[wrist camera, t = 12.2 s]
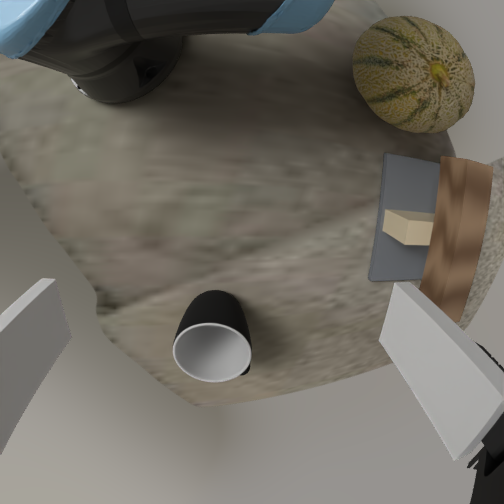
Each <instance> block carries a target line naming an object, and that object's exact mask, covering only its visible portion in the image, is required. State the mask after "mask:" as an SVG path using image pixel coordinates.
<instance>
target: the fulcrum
mask: <svg viewBox="0 0 504 504" xmlns="http://www.w3.org/2000/svg"><path fill="white" fill-rule="evenodd" d="M439 173H440V164H439V163H435V162H430V161H426V160H421V159H416V158H411V157H406V156H400V155H395V154H389V153H384V160H383V173H382V184H381V194H380V203H379V211H378V219H377V226H376V233H375V240H374V246H373V252H372V258H371V264H370V269H369V275H368V279H369V280H370V281H388V280H413V279H422V277H423V272H424V268H425V264H426V259H427V254H428V250H429V244H430V239H431V234H432V228H433V222H434V215H435V208H436V201H437V193H438V184H439Z"/></svg>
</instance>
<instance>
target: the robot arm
mask: <svg viewBox="0 0 504 504" xmlns="http://www.w3.org/2000/svg"><path fill="white" fill-rule="evenodd" d="M334 1H335V0H0V53H1V54H3V55H6V57H8V58H11V59H14V58H15V59H17V58H18V59H21V60H25V61H28V62H31V63H35V64H38V65H41V66H44V67H47V68H50V69H53V70H56V71H59V72H62V73H65V74H67V75H68V76H69V77H70V78H71V80H72V82H73V84H74V85H75V87H76V88H77V89H78V90H79V91H80V92H81V93H82V94H84V95H85V96H87V97H89V98H91V99H94V100H97V101H101V102H105V103H122V102H127V101H131V100H134V99H136V98H139V97H141V96H143V95H145V94H146V93H148V92H150V91H151V90H153V89H154V88H155V87H157V86H158V85H159V84H160V83H161V82H162V81H163V80H164V79H165V78H166V77H167V76H168V74H169V73H170V72H171V70H172V69H173V67H174V66H175V64H176V62H177V60H178V58H179V55H180V52H181V48H182V36H188V35H202V34H230V33H243V34H247V35H258V34H260V33H286V34H294V33H300V32H303V31H306V30H307V29H309V28H311V27H312V26H313V25H315V24H317V23H318V22H319V21H320V20H321V19H322V18H323V17H324V16H325V14H326V13H327V12H328V10H329V9H330V7H331V6H332V4H333V2H334ZM71 338H72V336H71V333H70V329H69V326H68V323H67V320H66V316H65V313H64V309H63V306H62V302H61V298H60V294H59V290H58V286H57V282H56V279H46V278H42V279H41V280H40V281H38V282H37V283H36V284H35V285H33V286H32V287H31V288H30V289H29V290H28V291H27V292H25V293H24V294H23V295H22V296H21V297H20V298H19V299H17V300H16V301H15V302H14V303H13V304H12V305H11V306H10V307H9V308H8V309H6V310H5V311H4V312H3V313H2V314H1V315H0V454H2V452H3V450H4V448H5V446H6V444H7V442H8V440H9V438H10V436H11V434H12V432H13V431H14V429H15V427H16V425H17V423H18V422H19V420H20V418H21V416H22V414H23V413H24V411H25V409H26V407H27V406H28V404H29V402H30V401H31V399H32V397H33V396H34V394H35V393H36V390H37V389H38V388H39V386H40V384H41V382H42V381H43V380H44V378H45V377H46V375H47V373H48V372H49V370H50V369H51V367H52V366H53V364H54V363H55V361H56V360H57V358H58V357H59V355H60V354H61V352H62V351H63V349H64V348H65V347H66V345H67V344H68V342H69V341H70V339H71ZM379 342H380V343H381V344H382V346H383V347H384V349H385V350H386V352H387V353H388V355H389V356H390V358H391V359H392V361H393V362H394V364H395V365H396V367H397V368H398V370H399V372H400V373H401V375H402V376H403V378H404V379H405V381H406V382H407V384H408V385H409V387H410V389H411V390H412V391H413V393H414V395H415V396H416V398H417V400H418V401H419V403H420V405H421V406H422V408H423V409H424V411H425V413H426V414H427V416H428V417H429V419H430V421H431V423H432V424H433V426H434V428H435V429H436V431H437V433H438V434H439V436H440V438H441V439H442V441H443V443H444V445H445V446H446V448H447V450H448V452H449V453H450V455H451V457H452V459H453V461H456V460H458V459H460V458H462V457H464V456H465V455H468V454H469V453H471V452H472V451H473V450H474V449H475V448H476V446H477V445H478V444H479V443H480V442H481V441H482V442H483V444H484V447H483V448H482V449H481V450H480V451H479V452H478V454H477V455H476V456H475V457H474V458H473V459H472V460H471V461H470V462H469V464H468V466H467V468H470V467H471V466H472V465H473V464H474V463H475V462H476V461H477V460H478V459H479V460H478V463H477V464H476V465H475V467H474V468H473V469H476V470H477V473H476V478H475V484H474V488H473V494H472V498H471V502H470V504H504V368H503V367H502V366H501V365H498V362H497V361H496V360H495V359H494V358H493V357H491V355H490V354H489V353H488V352H487V351H486V349H485V348H484V347H483V346H481V345H479V344H478V343H476V342H474V341H473V340H472V339H471V338H470V337H469V336H468V335H467V334H466V333H465V332H464V331H463V330H462V329H461V328H460V327H459V326H458V325H457V324H456V323H455V322H454V321H452V320H451V319H450V318H449V317H448V316H447V315H446V314H445V313H444V312H443V311H442V310H441V309H440V308H439V307H437V306H436V305H435V304H434V303H433V302H432V301H431V300H430V299H429V298H428V297H426V296H425V295H424V294H423V293H422V292H421V291H420V290H419V289H417V288H416V287H415V286H414V285H413V284H412V283H411V282H394V286H393V290H392V295H391V299H390V302H389V306H388V310H387V314H386V317H385V321H384V324H383V328H382V331H381V335H380V338H379Z"/></svg>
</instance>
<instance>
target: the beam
mask: <svg viewBox="0 0 504 504" xmlns="http://www.w3.org/2000/svg"><path fill="white" fill-rule="evenodd" d="M492 177H493V167H491V166H488V165H485V164H482V163H478V162H475V161H471V160H468V159H461V158H455V157H448V156H441V160H440V173H439V184H438V193H437V201H436V208H435V215H434V222H433V228H432V234H431V239H430V244H429V250H428V254H427V259H426V264H425V268H424V272H423V277H422V281H421V285H420V289H419V290H420V291H421V292H422V293H423V294H424V295H425V296H426V297H428V298H429V299H430V300H431V301H432V302H433V303H434V304H435V305H436V306H437V307H439V308H440V309H441V310H442V311H443V312H444V313H445V314H446V315H447V316H448V317H449V318H450V319H451V320H452V321H454V322H459V321H460V319H461V316H462V313H463V310H464V307H465V304H466V301H467V298H468V295H469V292H470V289H471V285H472V282H473V278H474V275H475V271H476V267H477V264H478V260H479V256H480V251H481V247H482V242H483V238H484V233H485V227H486V222H487V216H488V210H489V203H490V195H491V187H492Z"/></svg>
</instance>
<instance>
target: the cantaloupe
mask: <svg viewBox="0 0 504 504" xmlns="http://www.w3.org/2000/svg"><path fill="white" fill-rule="evenodd" d="M353 76H354V80H355V83H356V87H357V88H358V90H359V92H360V94H361V95H362V97H363V98H364V99H365V100H366V103H367V104H368V106H369V107H370V108H371V109H372V110H373V111H374V113H375V114H376V115H378V116H379V117H380V118H381V119H382V120H384V121H386V122H388V123H389V124H391V125H393V126H395V127H397V128H398V129H401V130H405V131H409V132H415V133H420V132H421V133H438V132H441V131H445V130H447V129H448V128H450V127H451V126H452V125H454V124H455V123H456V122H457V121H458V120H459V119H461V118H463V117H464V115H465V114H466V113H467V112H468V111H469V108H470V106H471V104H472V100H473V95H474V86H475V79H474V74H473V70H472V67H471V63H470V61H469V59H468V57H467V56H466V55H465V53H464V51H463V49H462V48H461V46H460V45H459V43H458V41H457V40H456V39H455V38H454V37H453V36H452V35H451V34H450V33H449V32H448V31H446V30H445V29H443V28H442V27H440V26H438V25H435V24H433V23H431V22H429V21H427V20H424V19H422V18H418V17H412V16H400V17H389V18H385V19H383V20H382V21H378V22H377V23H375V24H373V25H372V26H371V27H370V28H369V29H368V30H367V31H365V32H364V33H363V34H362V35H361V36H360V38H359V39H358V41H357V43H356V45H355V48H354V52H353Z"/></svg>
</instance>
